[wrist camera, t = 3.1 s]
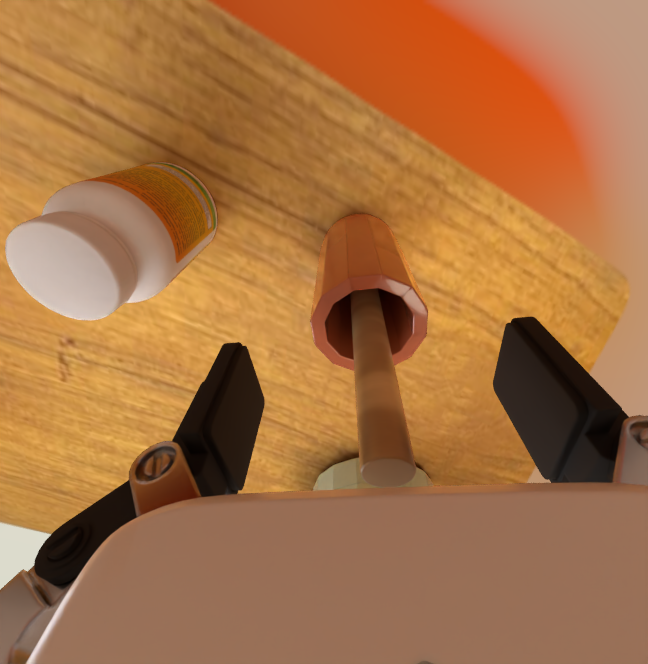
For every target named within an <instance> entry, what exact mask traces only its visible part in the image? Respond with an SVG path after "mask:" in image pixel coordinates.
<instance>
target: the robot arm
mask: <svg viewBox="0 0 648 664" xmlns="http://www.w3.org/2000/svg"><path fill="white" fill-rule="evenodd" d="M493 387H494V391H495V393H496V395H497V396H498V398H499V400H500V402H501V403H502V405H503V407H504V409H505V411H506V412H507V414H508V416H509V418H510V419H511V421H512V423H513V425H514V427H515V428H516V430H517V432H518V434H519V436H520V437H521V439H522V441H523V443H524V444H525V446H526V448H527V450H528V452H529V453H530V455H531V457H532V459H533V461H534V462H535V464H536V466H537V468H538V469H539V471H540V473H541V475H542V476H543V477H544V478H545V479H549V480H550V481H551V483H520V484H486V485H453V486H422V487H393V488H365V489H338V490H313V491H288V492H266V493H248V494H237V493H238V490H242V489H243V486H244V483H245V479H246V475H247V471H248V467H249V463H250V460H251V456H252V452H253V448H254V444H255V440H256V436H257V432H258V428H259V424H260V421H261V417H262V413H263V409H264V396H263V393H262V390H261V387H260V384H259V381H258V378H257V376H256V373H255V370H254V367H253V364H252V361H251V358H250V355H249V352H248V349H247V347H246V346H242V344H241V343H239V342H238V343H226V344H224V345H223V346H222V348H221V350H220V352H219V354H218V356H217V358H216V360H215V362H214V364H213V366H212V368H211V370H210V372H209V374H208V376H207V378H206V380H205V381H204V382H202V384H201V385H200V387H199V389H198V391H197V393H196V395H195V397H194V399H193V401H192V403H191V405H190V407H189V409H188V411H187V413H186V415H185V417H184V419H183V421H182V423H181V425H180V426H179V428H178V430H177V432H176V434H175V436H174V438H173V440H172V441H164V442H160V443H157V444H155V445H152V446H150V447H149V448H148V449H146V450H145V451H143V452H142V453H141V454H140V455H139V456H138V457H137V458H136V459H135V461H134V462H133V464H132V466H131V468H130V471H129V480H128V481H127V482H125V483H124V484H123V485H121V486H120V487H118V488H117V489H115V490H114V491H112V492H111V493H109V494H108V495H106V496H105V497H103V498H102V499H100V500H99V501H97V502H96V503H94V504H93V505H91V506H90V507H88V508H87V509H85V510H84V511H82V512H81V513H79V514H78V515H76V516H75V517H73V518H72V519H70V520H69V521H68V522H66V523H65V524H63V525H62V526H61V527H59V528H58V529H57V530H56V531H54V532H53V533H52V535H51V536H50V537H49V538H48V539H47V540H46V541H45V543H44V544H43V545H42V547H41V548H40V550H39V552H38V555H37V557H36V559H35V565H34V566H33V567H32V568H31V569H30V570H29V571H28V572H27V571H25V570H22V571H21V572H19V573H18V574H17V575H16V576H15V577H14V578H13V579H12V580H11V581H9V582H8V583H7V584H6V585H5V586H4V587H3V588H2V589H1V590H0V664H648V416H641V415H639V416H632V417H628V416H627V414H626V413H625V412H624V411H623V410H622V408H621V407H620V406H619V405H618V404H617V403H616V402H615V401H614V400H613V399H612V397H611V396H610V395H609V394H608V393H607V392H606V391H605V390H604V389H603V388H602V387H601V386H600V385H599V384H598V383H597V382H596V381H595V380H594V379H593V378H592V377H591V376H590V375H589V373H588V372H587V371H586V370H585V369H584V368H583V367H582V366H581V365H580V364H579V363H578V362H577V361H576V360H575V359H574V358H573V357H572V356H571V355H570V354H569V353H568V352H567V351H566V350H565V348H564V347H563V346H562V345H561V344H560V343H559V342H558V341H557V340H556V339H555V338H554V337H553V336H552V335H551V334H550V333H549V332H548V331H547V330H546V329H545V328H544V327H543V326H542V325H541V324H540V322H539V321H538V320H537V319H536V318H534V317H522V318H514V319H512V321H511V323H507V324H506V327H505V331H504V335H503V340H502V344H501V349H500V353H499V358H498V362H497V367H496V371H495V376H494V380H493Z"/></svg>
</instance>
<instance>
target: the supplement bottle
mask: <svg viewBox="0 0 648 664" xmlns="http://www.w3.org/2000/svg"><path fill="white" fill-rule="evenodd" d="M216 229H217V211H216V207H215V204H214V201H213V199H212V196H211V194H210V193H209V191H208V190H207V188H206V187H205V185H204V184H203V183H202V182H201V181H200V180H199V179H198V178H197V177H196V176H195V175H193V174H192V173H191V172H189V171H188V170H186V169H184V168H182V167H180V166H178V165H175V164H171V163H165V162H155V163H149V164H145V165H141V166H138V167H134V168H130V169H127V170H123V171H119V172H115V173H111V174H108V175H104V176H100V177H96V178H93V179H88V180H84V181H81V182H77V183H75V184H72V185H69V186H67V187H64V188H62V189H60V190H59V191H57V192H56V193H55V194H54V195H53V196H52V197H51V198H50V199H49V200H48V202H47V203H46V205H45V207H44V209H43V212H42V216H39V217H36V218H34V219H31V220H29V221H26V222H24V223H21V224H20V225H18V226H16V227H15V228H14V229H13V230H12V231H11V232H10V234H9V236H8V238H7V240H6V247H5V251H6V258H7V262H8V264H9V267H10V269H11V271H12V273H13V274H14V276H15V278H16V279H17V280H18V282H19V283H20V284H21V286H22V287H23V288H24V289H25V290H26V291H27V292H28V293H29V294H30V295H31V296H32V297H33V298H34V299H36V300H37V301H38V302H40V303H41V304H42V305H44V306H45V307H47V308H49V309H51V310H53V311H54V312H56V313H59V314H61V315H64V316H67V317H70V318H73V319H79V320H97V319H101V318H104V317H106V316H108V315H110V314H112V313H113V312H114V311H115V310H116V309H118V308H119V307H120V306H121V305H123V304H124V303H135V302H140V301H144V300H147V299H149V298H152V297H153V296H155V295H157V294H158V293H159V292H161V291H162V290H163V289H164V288H165V287H167V286H168V284H169V283H170V282H171V281H172V280H173V279H174V278H175V277H176V276H177V275H178V274H179V273H180V272H181V271H182V270H183V269H185V268H186V267H187V266H188V265H189V264H190V263H191V262H192V261H193V260H194V259H195V258H196V257H197V256H198V255H199V254H200V253H201V252H202V251H203V250H204V249H205V248H206V247H207V246H208V244H209V243H210V242H211V240H212V239H213V237H214V235H215V232H216Z"/></svg>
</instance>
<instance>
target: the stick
mask: <svg viewBox="0 0 648 664" xmlns="http://www.w3.org/2000/svg"><path fill="white" fill-rule="evenodd" d="M350 301H351V319H352V337H353V355H354V373H355V391H356V409H357V427H358V445H359V463H360V474H361V476H362V478H363V480H364V481H366V482H367V483H369V484H370V485H373V486H376V487H382V488H393V487H398V486H402V485H404V484H406V483H408V482H410V481H411V480H412V479H413V478H414V476H415V474H416V465H415V460H414V455H413V451H412V446H411V441H410V437H409V432H408V428H407V423H406V418H405V414H404V409H403V404H402V400H401V395H400V390H399V386H398V381H397V376H396V372H395V367H394V362H393V358H392V353H391V348H390V344H389V339H388V334H387V330H386V325H385V320H384V316H383V311H382V306H381V302H380V297H379V292H378V288H375V289H365V290H355V291H353V292H351V293H350Z"/></svg>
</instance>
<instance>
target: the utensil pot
mask: <svg viewBox="0 0 648 664" xmlns="http://www.w3.org/2000/svg"><path fill="white" fill-rule="evenodd" d="M375 288H378V292H379V297H380V302H381V306H382V311H383V316H384V320H385V325H386V330H387V334H388V339H389V344H390V348H391V353H392V358H393V362H394V365H396V364H398V363H400V362H402V361H404V360H406V359H408V358H410V357H411V356H412V355H413V353H414V352H415V351H416V349H417V348H418V347H419V345H420V344H421V343H422V341H423V340H424V338H425V337H426V334H427V319H428V310H427V306H426V304H425V302H424V299H423V297H422V295H421V293H420V291H419V288H418V286H417V284H416V282H415V279H414V277H413V275H412V273H411V270H410V268H409V266H408V264H407V262H406V259H405V257H404V255H403V253H402V250H401V248H400V246H399V244H398V241H397V239H396V238H395V236H394V235H393V233H392V231H391V229H390V228H389V227H388V225H387V224H386V223H385V222H383V221H382V220H381V219H379V218H377V217H375V216H372V215H368V214H353V215H349V216H346V217H344V218H342V219H340V220H339V221H337V222H336V223H335V224H334V225H332V227H331V228H330V229H329V230H328V232H327V233H326V235H325V237H324V240H323V244H322V246H321V250H320V257H319V263H318V270H317V277H316V284H315V291H314V298H313V305H312V312H311V319H310V323H311V328H312V334H313V339H314V344H315V345H316V347H317V348H318V349H319V350H320V351H321V352H322V353H323V354H324V355H325V356H326V357H327V358H328V359H329V360H330V361H331V362H332V363H333V364H336V365H339V366H341V367H344V368H347V369H350V370H353V371H354V355H353V337H352V319H351V301H350V293H351V292H353V291H355V290H365V289H375Z"/></svg>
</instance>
